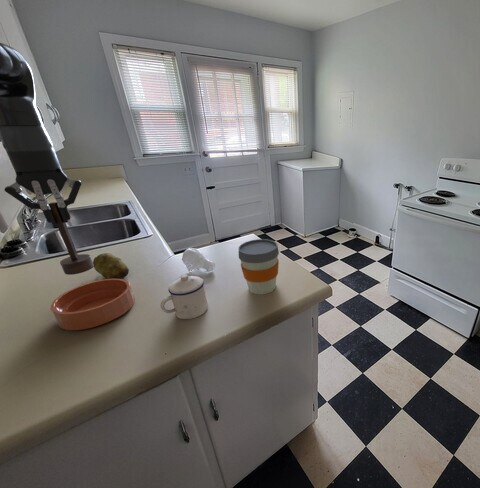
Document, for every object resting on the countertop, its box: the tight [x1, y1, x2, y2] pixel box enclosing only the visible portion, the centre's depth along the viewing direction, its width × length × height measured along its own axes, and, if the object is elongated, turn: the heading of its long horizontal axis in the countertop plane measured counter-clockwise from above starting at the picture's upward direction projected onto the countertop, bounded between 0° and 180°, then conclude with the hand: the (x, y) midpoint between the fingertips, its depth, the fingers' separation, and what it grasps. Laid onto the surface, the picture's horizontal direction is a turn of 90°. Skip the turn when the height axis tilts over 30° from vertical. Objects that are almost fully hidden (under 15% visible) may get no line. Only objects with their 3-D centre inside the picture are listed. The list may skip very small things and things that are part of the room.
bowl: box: [49, 278, 136, 331], centre depth 78 cm, size 18×18×6 cm
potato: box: [92, 252, 130, 279], centre depth 96 cm, size 8×13×8 cm, turn 48°
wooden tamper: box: [48, 201, 94, 276], centre depth 68 cm, size 6×6×18 cm
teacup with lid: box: [160, 274, 209, 320], centre depth 76 cm, size 12×9×12 cm
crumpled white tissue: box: [181, 247, 216, 273], centre depth 100 cm, size 6×8×12 cm
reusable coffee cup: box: [238, 238, 280, 295], centre depth 88 cm, size 12×12×15 cm
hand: (60, 222), depth 66 cm, fingers closed on wooden tamper, 1 cm apart
